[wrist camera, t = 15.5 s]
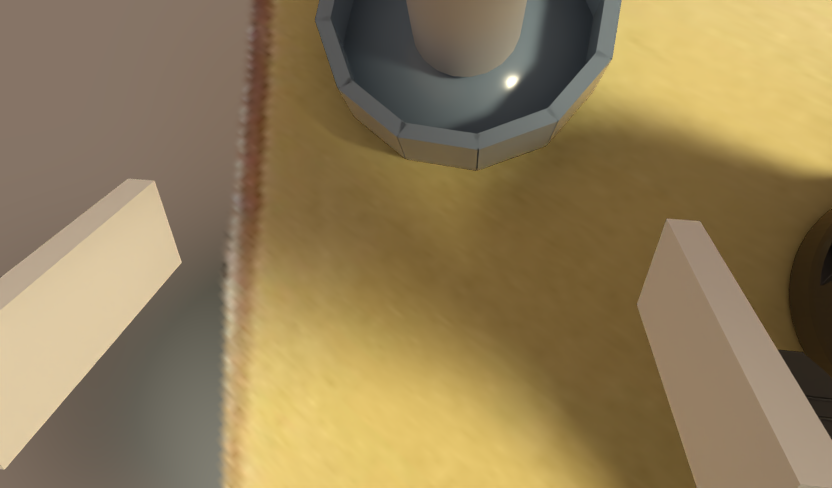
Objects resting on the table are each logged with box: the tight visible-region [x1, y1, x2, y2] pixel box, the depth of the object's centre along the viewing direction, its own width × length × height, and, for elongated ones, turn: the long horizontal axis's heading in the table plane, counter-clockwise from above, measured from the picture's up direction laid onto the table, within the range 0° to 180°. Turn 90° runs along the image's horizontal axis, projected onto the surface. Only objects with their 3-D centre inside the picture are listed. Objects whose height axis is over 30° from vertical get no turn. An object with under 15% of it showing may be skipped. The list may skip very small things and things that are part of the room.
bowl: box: [315, 0, 621, 171], centre depth 34 cm, size 19×19×4 cm
